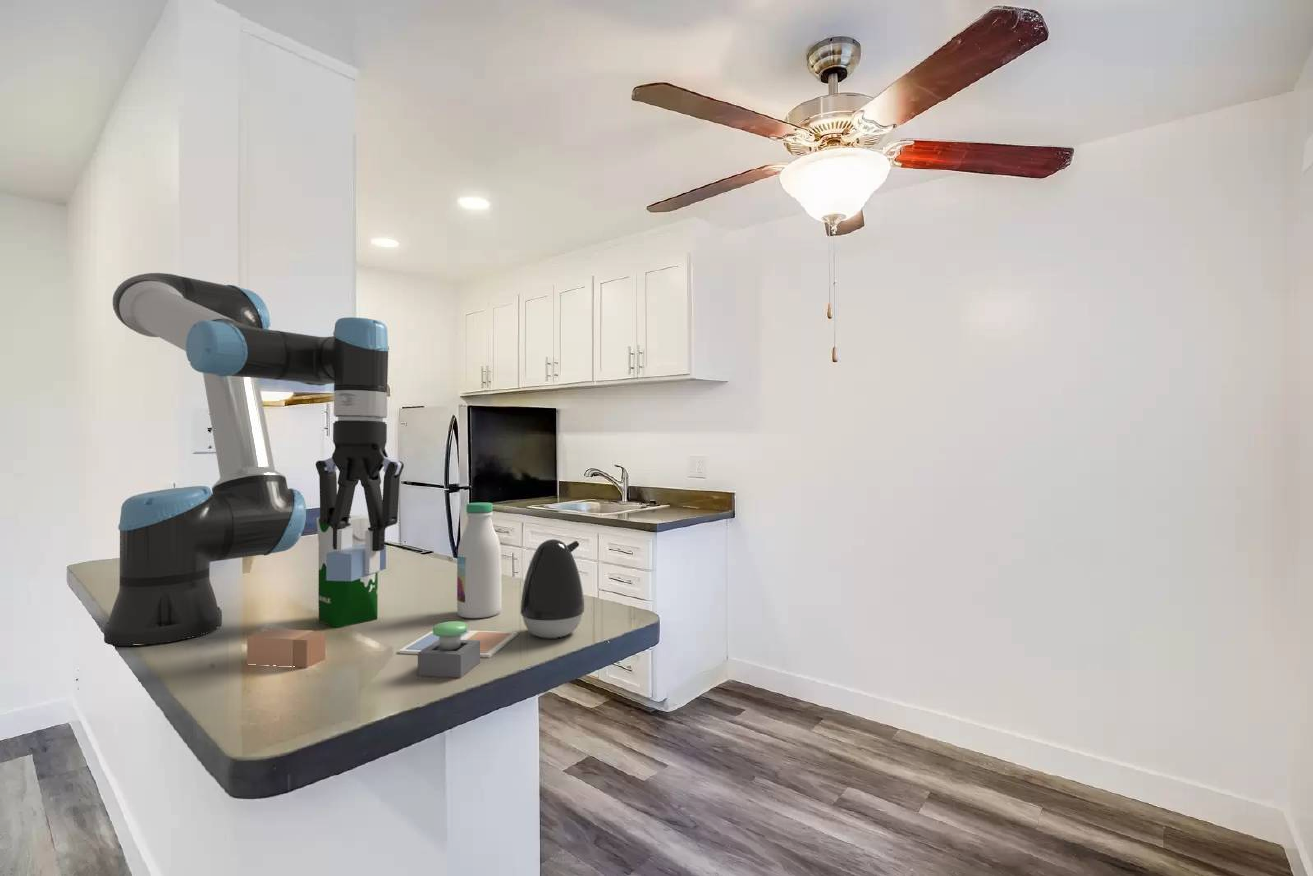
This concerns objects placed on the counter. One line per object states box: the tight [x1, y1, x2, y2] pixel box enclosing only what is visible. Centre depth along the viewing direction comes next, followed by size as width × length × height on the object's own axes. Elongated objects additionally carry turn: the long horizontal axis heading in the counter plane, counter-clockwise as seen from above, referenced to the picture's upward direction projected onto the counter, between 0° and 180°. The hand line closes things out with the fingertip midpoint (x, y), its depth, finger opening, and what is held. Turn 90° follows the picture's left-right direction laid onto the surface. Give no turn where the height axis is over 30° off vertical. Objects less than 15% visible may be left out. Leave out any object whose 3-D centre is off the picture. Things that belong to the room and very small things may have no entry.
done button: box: [432, 620, 468, 650], centre depth 86 cm, size 4×4×3 cm
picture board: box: [397, 629, 518, 659], centre depth 96 cm, size 14×11×1 cm
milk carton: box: [315, 514, 379, 628], centre depth 110 cm, size 9×9×20 cm
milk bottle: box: [456, 502, 502, 619], centre depth 114 cm, size 8×8×20 cm
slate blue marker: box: [326, 544, 387, 581], centre depth 97 cm, size 9×4×4 cm, turn 172°
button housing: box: [417, 640, 481, 679], centre depth 86 cm, size 6×6×3 cm
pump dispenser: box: [519, 539, 585, 639], centre depth 102 cm, size 10×10×15 cm
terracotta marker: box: [246, 628, 326, 669], centre depth 89 cm, size 9×4×4 cm, turn 82°
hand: (358, 571), depth 97 cm, fingers closed on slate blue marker, 4 cm apart
